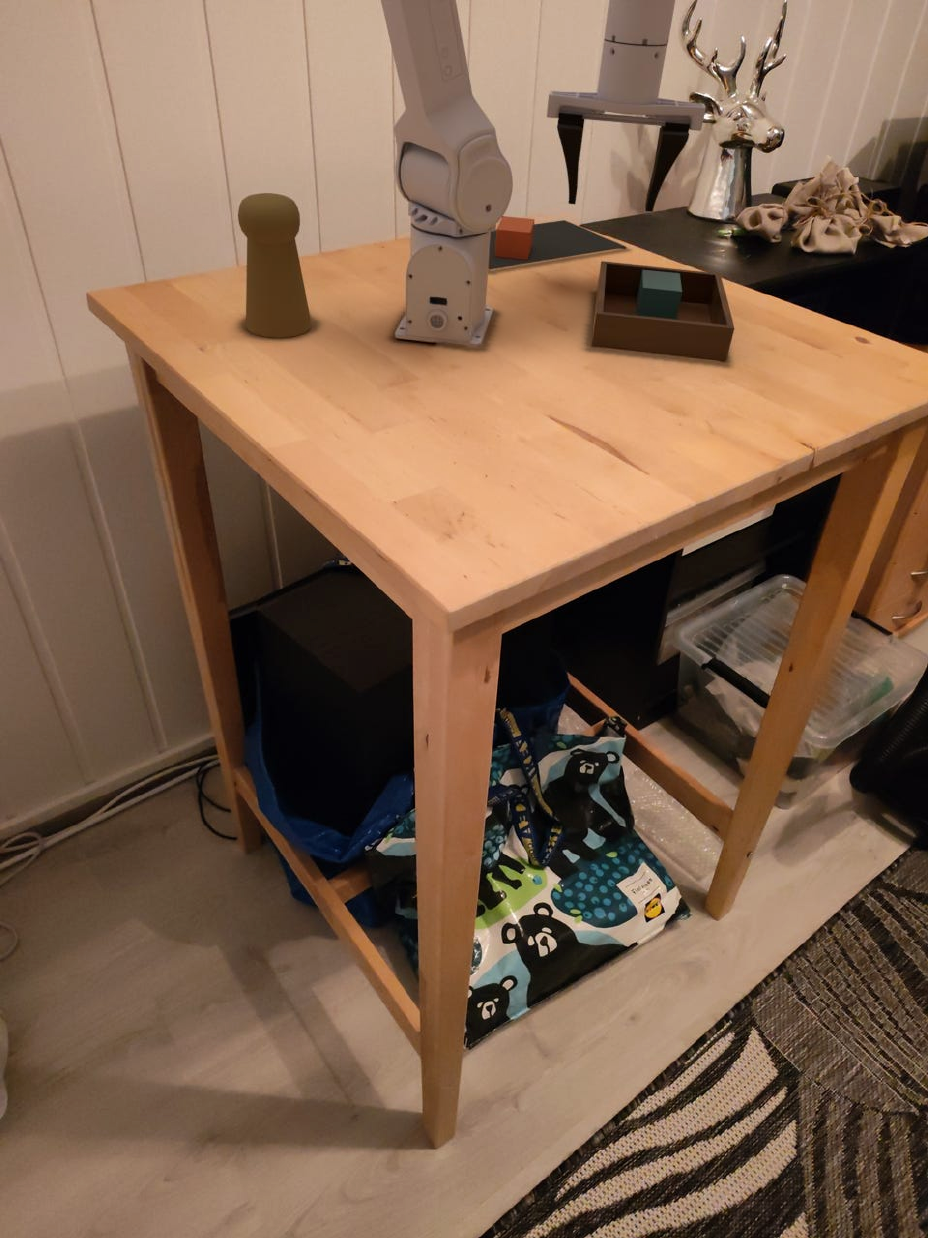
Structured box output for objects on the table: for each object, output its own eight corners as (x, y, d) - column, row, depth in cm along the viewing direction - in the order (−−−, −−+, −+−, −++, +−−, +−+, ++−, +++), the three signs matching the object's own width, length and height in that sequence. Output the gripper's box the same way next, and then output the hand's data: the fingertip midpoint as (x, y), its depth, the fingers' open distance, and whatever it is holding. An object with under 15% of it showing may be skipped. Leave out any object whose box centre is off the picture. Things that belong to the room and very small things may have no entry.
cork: (306, 339, 75) (296, 207, 68) (238, 335, 75) (222, 202, 68) (316, 314, 80) (309, 188, 72) (253, 310, 79) (239, 184, 72)
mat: (625, 250, 100) (626, 246, 100) (490, 272, 92) (490, 268, 91) (564, 223, 108) (564, 219, 108) (433, 241, 99) (433, 237, 99)
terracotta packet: (527, 260, 94) (530, 232, 92) (494, 256, 95) (496, 228, 93) (531, 246, 98) (534, 218, 96) (500, 242, 99) (502, 215, 97)
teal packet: (675, 322, 82) (682, 291, 80) (636, 317, 82) (642, 287, 80) (673, 302, 86) (679, 273, 84) (636, 298, 87) (642, 269, 85)
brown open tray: (724, 365, 76) (734, 328, 73) (590, 349, 77) (596, 313, 74) (712, 306, 87) (720, 273, 85) (596, 293, 88) (601, 260, 86)
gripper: (713, 43, 77) (680, 201, 86) (557, 30, 78) (541, 188, 87) (720, 52, 72) (684, 220, 81) (553, 38, 73) (536, 206, 82)
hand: (610, 205), depth 84 cm, fingers open, 7 cm apart
